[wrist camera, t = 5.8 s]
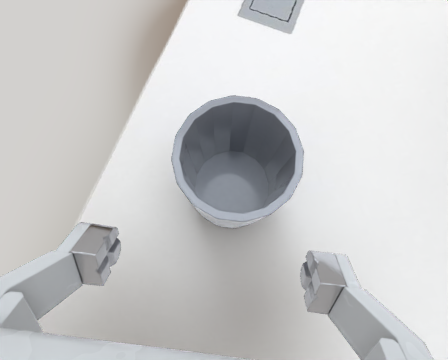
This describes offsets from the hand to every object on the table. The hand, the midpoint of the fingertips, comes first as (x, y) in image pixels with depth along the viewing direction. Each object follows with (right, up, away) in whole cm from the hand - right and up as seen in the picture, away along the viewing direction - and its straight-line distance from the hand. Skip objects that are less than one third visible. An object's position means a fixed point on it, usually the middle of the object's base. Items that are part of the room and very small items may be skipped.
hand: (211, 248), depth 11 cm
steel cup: (+1, +2, +9) cm, 10 cm away
